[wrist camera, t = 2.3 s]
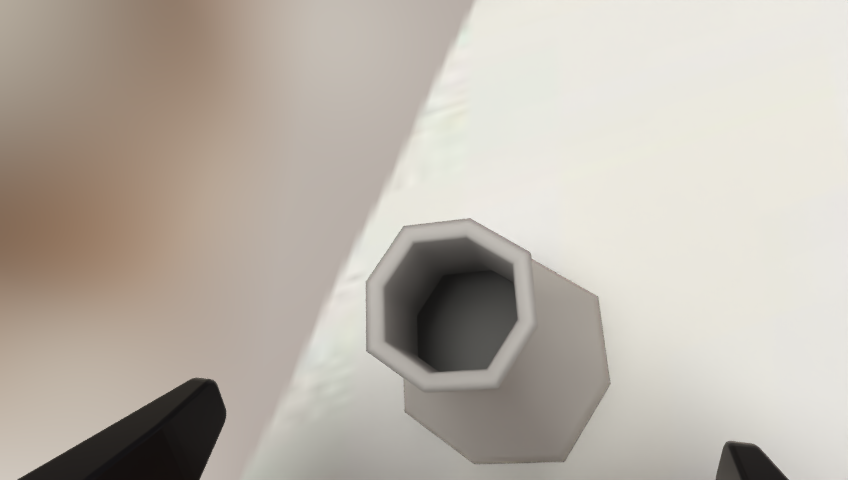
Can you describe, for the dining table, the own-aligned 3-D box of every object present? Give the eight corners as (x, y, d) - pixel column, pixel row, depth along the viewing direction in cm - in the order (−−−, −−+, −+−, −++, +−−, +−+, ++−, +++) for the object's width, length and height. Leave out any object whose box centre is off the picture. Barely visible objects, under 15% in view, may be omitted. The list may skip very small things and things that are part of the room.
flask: (629, 278, 19) (701, 148, 9) (587, 500, 17) (623, 605, 8) (430, 237, 21) (328, 96, 12) (375, 430, 19) (204, 447, 10)
